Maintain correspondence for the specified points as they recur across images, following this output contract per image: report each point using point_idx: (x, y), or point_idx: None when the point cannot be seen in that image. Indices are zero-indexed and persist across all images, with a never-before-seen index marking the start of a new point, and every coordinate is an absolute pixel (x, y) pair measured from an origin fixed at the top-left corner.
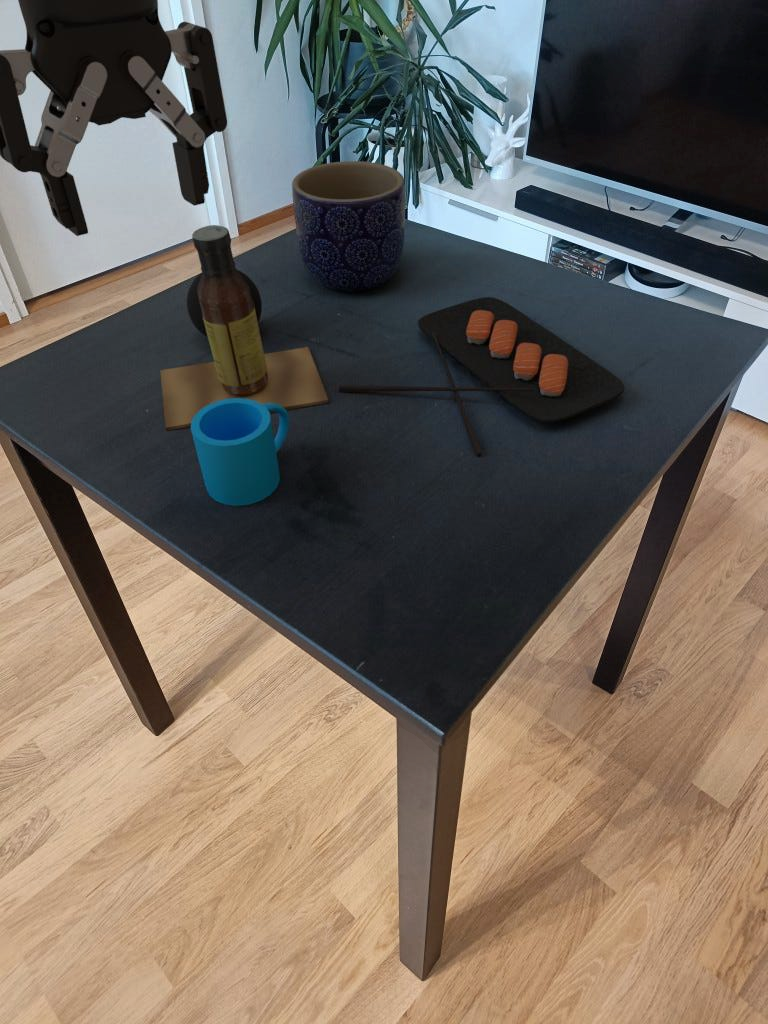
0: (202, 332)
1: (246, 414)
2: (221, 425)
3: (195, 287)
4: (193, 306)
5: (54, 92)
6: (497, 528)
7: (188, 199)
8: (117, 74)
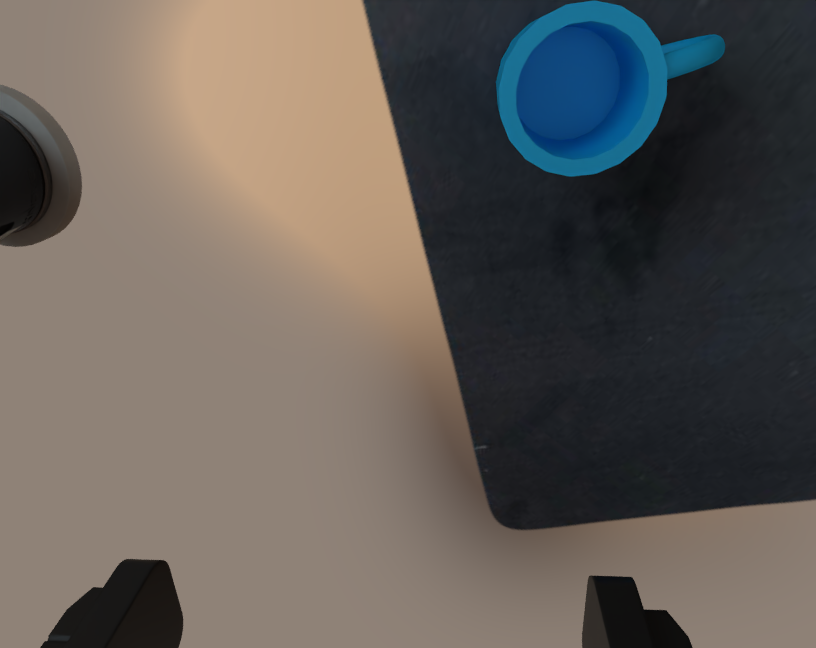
0: None
1: (635, 51)
2: (583, 23)
3: None
4: None
5: None
6: (765, 412)
7: (586, 615)
8: None
